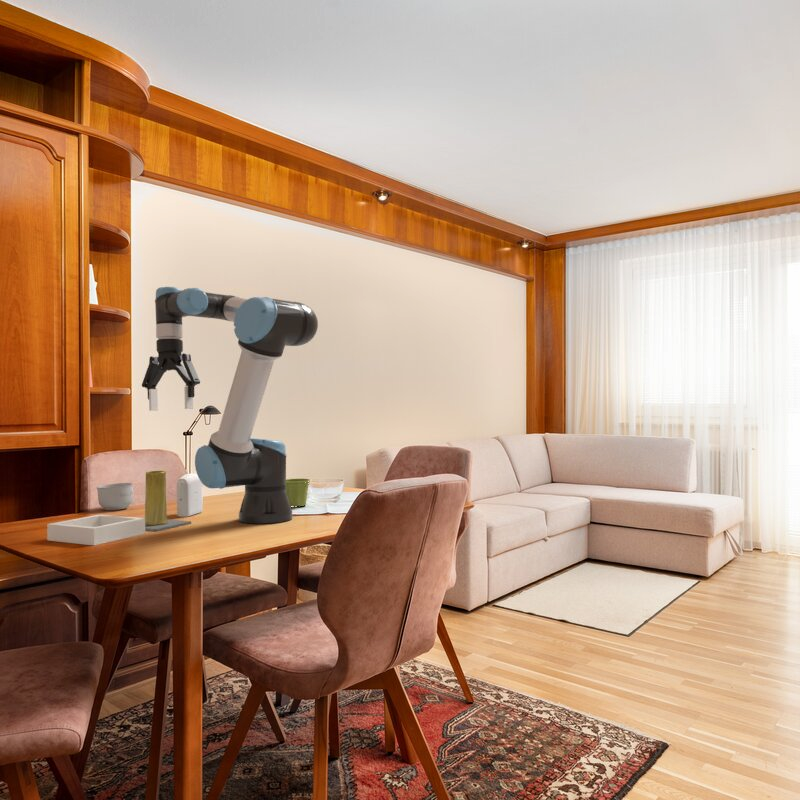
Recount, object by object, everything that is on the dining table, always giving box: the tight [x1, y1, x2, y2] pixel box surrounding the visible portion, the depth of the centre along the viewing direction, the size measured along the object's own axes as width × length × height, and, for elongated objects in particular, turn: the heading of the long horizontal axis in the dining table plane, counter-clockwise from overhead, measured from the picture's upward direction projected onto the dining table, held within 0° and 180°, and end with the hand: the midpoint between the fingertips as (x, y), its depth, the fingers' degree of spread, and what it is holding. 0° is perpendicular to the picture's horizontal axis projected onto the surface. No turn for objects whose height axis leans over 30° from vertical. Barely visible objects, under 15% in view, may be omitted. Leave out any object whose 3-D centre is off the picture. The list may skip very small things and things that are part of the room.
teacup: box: [96, 482, 134, 511], centre depth 221 cm, size 14×11×8 cm
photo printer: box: [176, 473, 204, 518], centre depth 207 cm, size 10×4×12 cm, turn 168°
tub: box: [46, 514, 146, 546], centre depth 172 cm, size 16×16×4 cm
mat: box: [145, 518, 192, 532], centre depth 188 cm, size 13×13×1 cm
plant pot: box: [286, 478, 311, 507], centre depth 222 cm, size 9×9×9 cm
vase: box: [144, 470, 168, 525], centre depth 188 cm, size 6×6×14 cm
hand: (171, 409), depth 205 cm, fingers open, 13 cm apart
